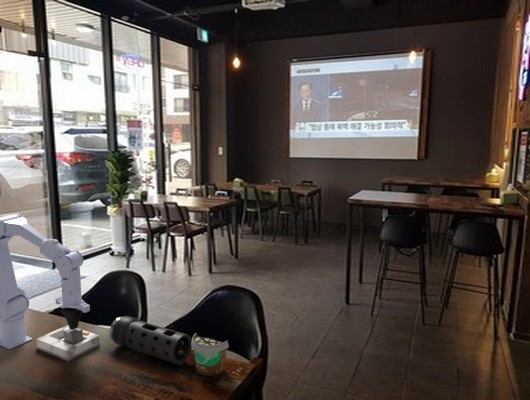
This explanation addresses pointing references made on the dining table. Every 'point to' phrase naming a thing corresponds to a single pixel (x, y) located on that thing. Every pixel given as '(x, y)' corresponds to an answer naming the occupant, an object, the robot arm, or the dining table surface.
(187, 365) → the dining table surface
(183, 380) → the dining table surface
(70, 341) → the plug
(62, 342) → the double socket
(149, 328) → the muzzle brake
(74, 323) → the robot arm
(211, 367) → the food container
